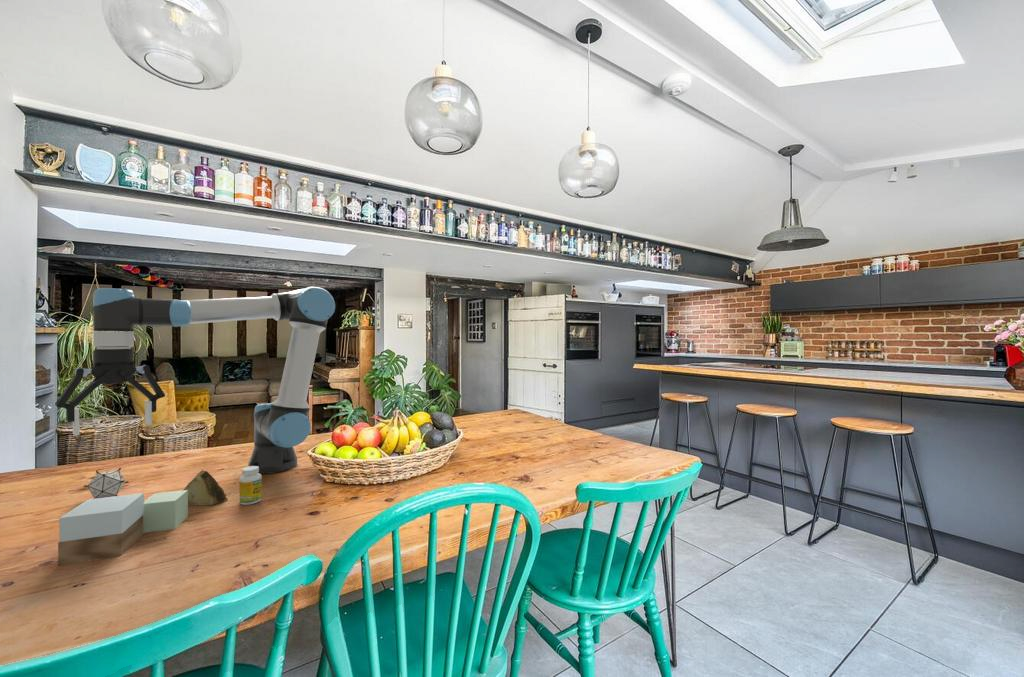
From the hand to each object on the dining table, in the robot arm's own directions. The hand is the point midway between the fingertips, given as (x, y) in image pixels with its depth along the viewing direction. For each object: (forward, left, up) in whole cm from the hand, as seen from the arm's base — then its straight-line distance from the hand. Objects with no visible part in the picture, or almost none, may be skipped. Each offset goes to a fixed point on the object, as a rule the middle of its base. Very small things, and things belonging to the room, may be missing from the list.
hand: (114, 429), depth 105 cm
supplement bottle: (-31, +3, -23) cm, 38 cm away
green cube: (-14, +11, -23) cm, 29 cm away
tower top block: (-6, +20, -18) cm, 28 cm away
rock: (-19, -1, -23) cm, 29 cm away
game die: (+7, -15, -23) cm, 28 cm away
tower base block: (-6, +20, -23) cm, 31 cm away
